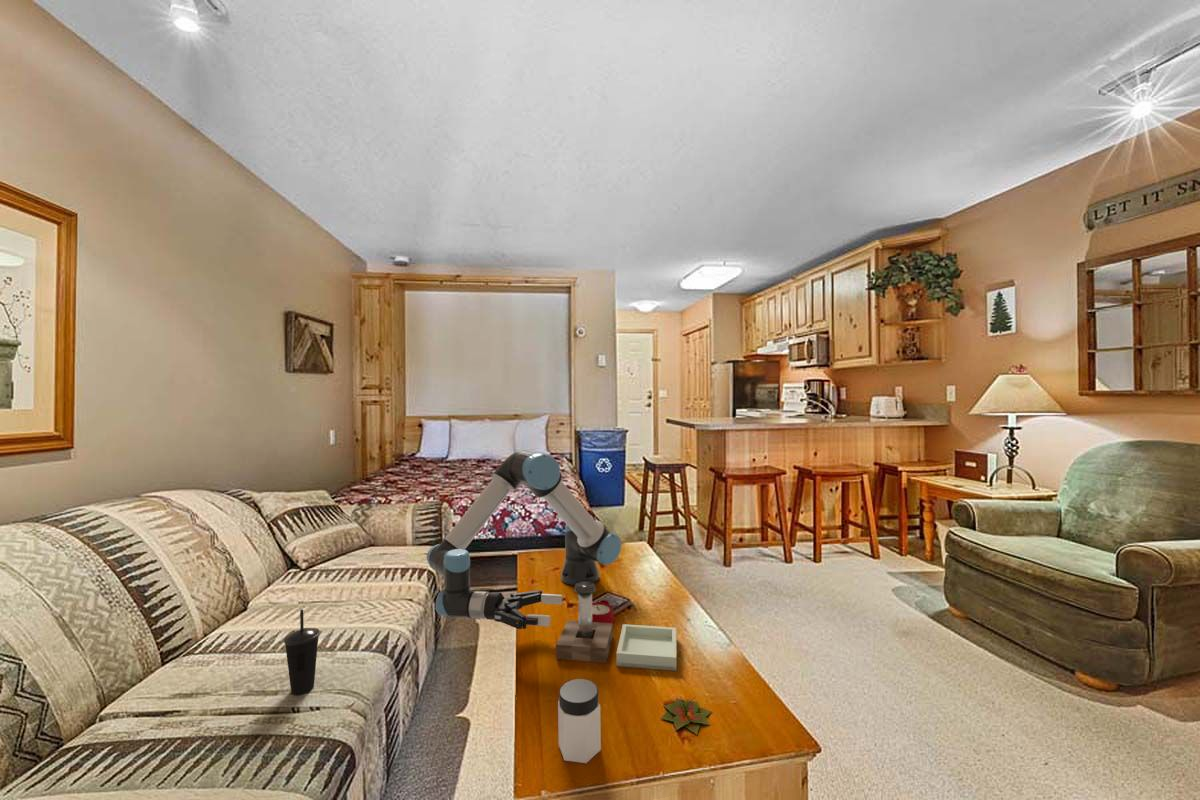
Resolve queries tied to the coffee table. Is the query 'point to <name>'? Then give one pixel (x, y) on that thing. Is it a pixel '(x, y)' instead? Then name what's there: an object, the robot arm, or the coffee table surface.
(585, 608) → the steel pin
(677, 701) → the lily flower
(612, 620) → the alarm clock
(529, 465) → the robot arm
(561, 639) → the brown square frame
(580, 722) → the jar
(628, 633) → the sage tray
